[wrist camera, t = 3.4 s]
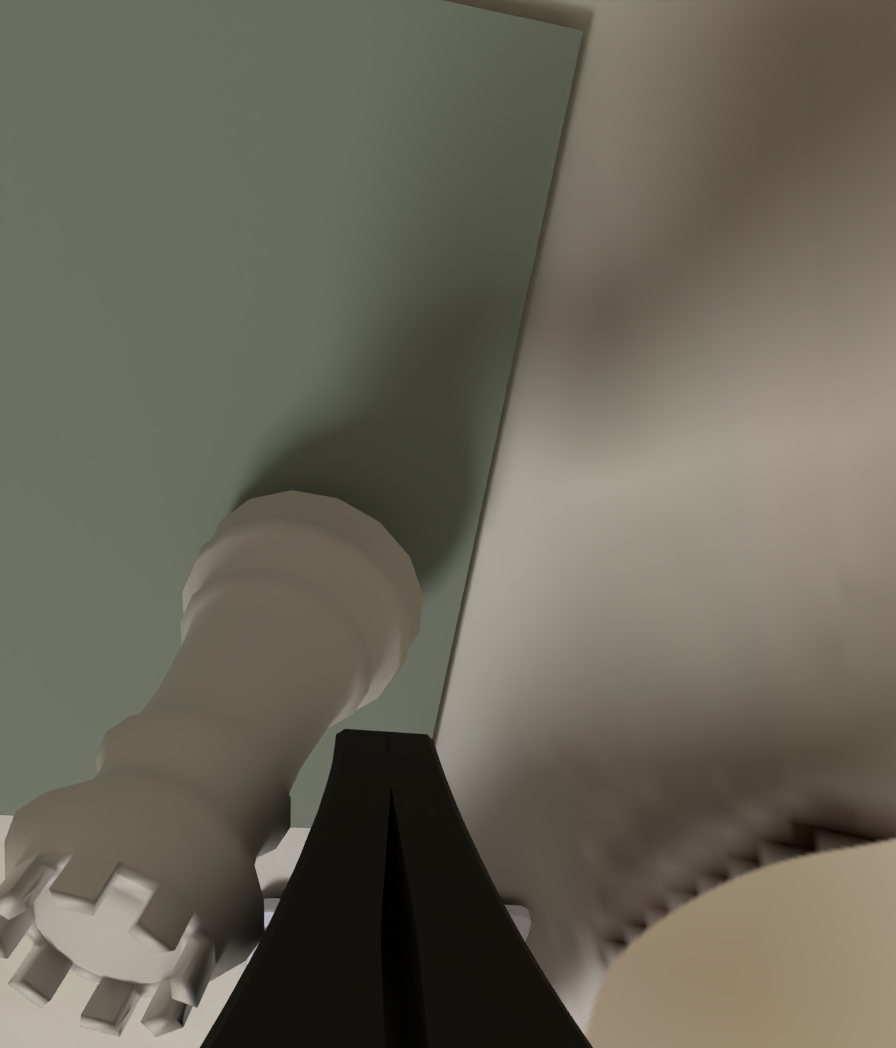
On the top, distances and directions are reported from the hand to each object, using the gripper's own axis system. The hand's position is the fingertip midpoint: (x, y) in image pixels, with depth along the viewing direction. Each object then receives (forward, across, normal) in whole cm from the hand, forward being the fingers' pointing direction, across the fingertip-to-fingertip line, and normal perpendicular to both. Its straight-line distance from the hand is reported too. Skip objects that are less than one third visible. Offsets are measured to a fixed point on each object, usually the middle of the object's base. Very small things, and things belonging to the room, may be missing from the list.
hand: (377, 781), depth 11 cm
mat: (+6, +6, -1) cm, 9 cm away
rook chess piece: (+5, +1, 0) cm, 5 cm away
